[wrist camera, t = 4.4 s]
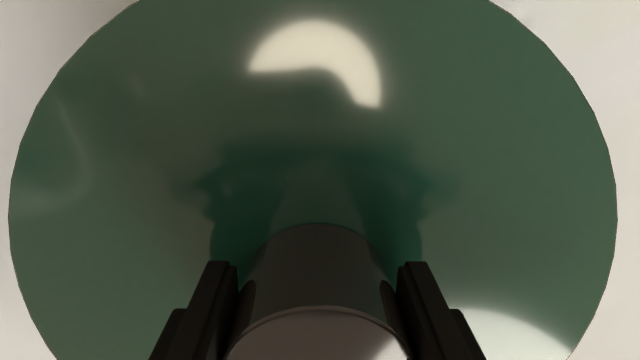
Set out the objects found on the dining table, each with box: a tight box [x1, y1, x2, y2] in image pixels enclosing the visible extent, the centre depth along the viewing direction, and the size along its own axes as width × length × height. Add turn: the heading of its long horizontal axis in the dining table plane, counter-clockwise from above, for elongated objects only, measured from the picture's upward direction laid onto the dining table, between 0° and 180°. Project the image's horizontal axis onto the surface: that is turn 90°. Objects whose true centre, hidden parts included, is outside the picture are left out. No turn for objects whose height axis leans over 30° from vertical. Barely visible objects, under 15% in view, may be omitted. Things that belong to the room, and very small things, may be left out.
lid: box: [8, 0, 618, 360], centre depth 11 cm, size 18×18×5 cm
